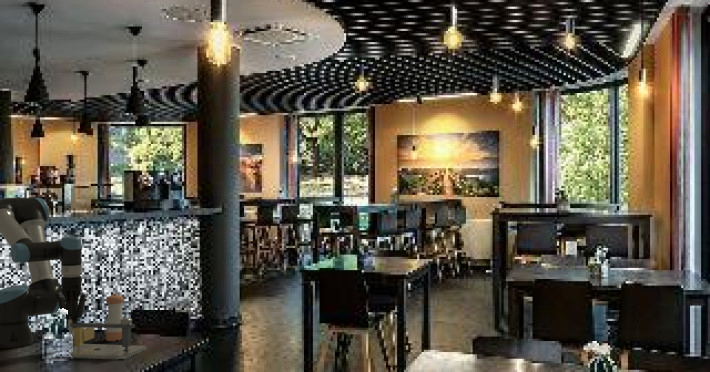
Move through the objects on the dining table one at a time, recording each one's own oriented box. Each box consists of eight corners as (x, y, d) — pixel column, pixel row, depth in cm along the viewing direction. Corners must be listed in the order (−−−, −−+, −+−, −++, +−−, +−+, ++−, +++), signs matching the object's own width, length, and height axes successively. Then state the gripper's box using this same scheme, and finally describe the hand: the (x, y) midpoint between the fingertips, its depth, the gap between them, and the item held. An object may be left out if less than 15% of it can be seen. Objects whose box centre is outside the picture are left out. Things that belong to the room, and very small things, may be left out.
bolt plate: (56, 357, 251) (56, 352, 251) (81, 347, 266) (81, 343, 266) (124, 359, 245) (124, 355, 245) (146, 349, 261) (146, 345, 261)
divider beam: (68, 348, 256) (68, 318, 257) (74, 345, 260) (74, 316, 261) (131, 350, 251) (130, 320, 252) (136, 348, 255) (136, 318, 255)
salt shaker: (120, 336, 286) (120, 291, 287) (127, 339, 281) (126, 293, 281) (103, 339, 282) (103, 293, 282) (109, 342, 276) (109, 295, 276)
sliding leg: (73, 347, 257) (73, 327, 257) (87, 342, 266) (87, 323, 266) (80, 348, 256) (80, 327, 256) (94, 342, 265) (94, 323, 265)
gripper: (50, 277, 263) (51, 337, 263) (80, 277, 260) (81, 338, 260) (62, 274, 270) (63, 333, 270) (91, 275, 268) (92, 334, 267)
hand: (72, 335), depth 265 cm, fingers closed
